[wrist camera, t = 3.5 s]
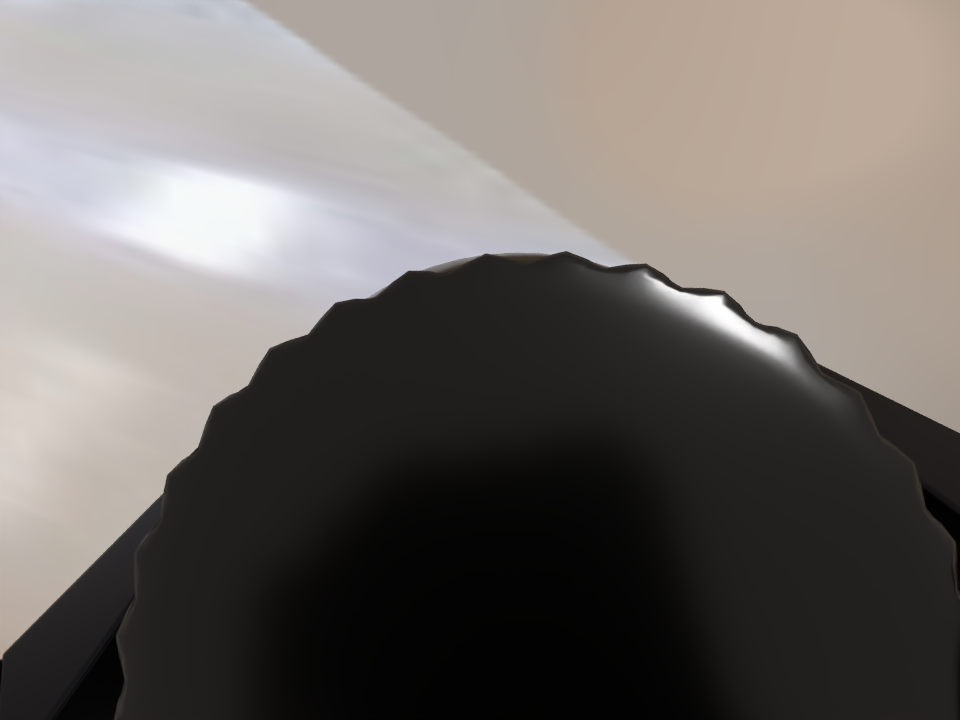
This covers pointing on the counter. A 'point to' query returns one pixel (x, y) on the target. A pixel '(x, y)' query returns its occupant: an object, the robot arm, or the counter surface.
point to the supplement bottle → (542, 520)
